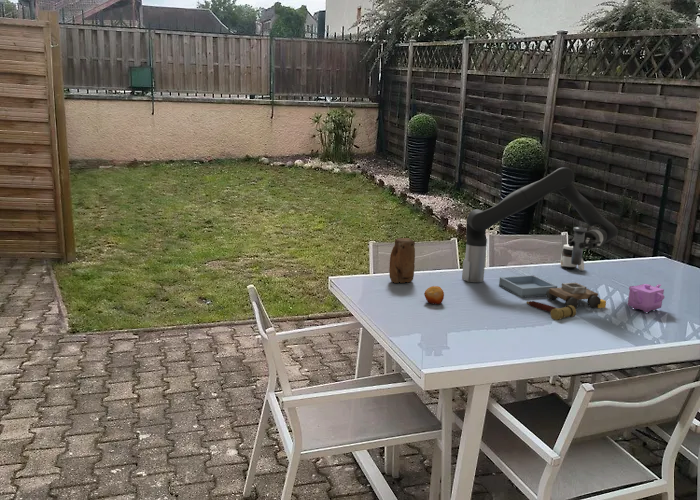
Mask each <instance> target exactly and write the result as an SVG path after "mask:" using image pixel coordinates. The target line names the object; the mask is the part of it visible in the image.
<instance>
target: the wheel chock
mask: <svg viewBox="0 0 700 500" xmlns="http://www.w3.org/2000/svg"><path fill="white" fill-rule="evenodd" d="M600 300H601V302H600V304H599V305H598V307H597V308H596V309H604V308H606V304H607V300H605V299H602V298H600Z"/></svg>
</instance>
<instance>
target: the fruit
mask: <svg viewBox="0 0 700 500" xmlns="http://www.w3.org/2000/svg"><path fill="white" fill-rule="evenodd" d="M423 295H424V297H425V300H426V302H427V303H428V304H429V303H430V304H431V305H441V304H442V303H443V301H444V298H445V292H444V290H443V288H441V287H440V286H438V285H437V286H435V285H433V286H429V287H428V288H426V289H425V291H424V294H423Z"/></svg>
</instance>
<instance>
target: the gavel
mask: <svg viewBox="0 0 700 500" xmlns="http://www.w3.org/2000/svg"><path fill="white" fill-rule="evenodd" d="M526 304H527V305H529V306H530V307H532V308H535V309H538V310H541V311H543V312H548V313H550V317H551V319H552V320H556V321H560V320H562V319H564V318H569V317H570V318H572V317H575V316H576V315H577V308H576V309H575V307H574V306H572V305H569V306H564V307H560V308H558V307H556V306H552V305H549V304H545V303H542V302H539V301H535V300H532V301H531V300H529V301H526Z"/></svg>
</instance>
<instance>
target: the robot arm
mask: <svg viewBox="0 0 700 500" xmlns="http://www.w3.org/2000/svg"><path fill="white" fill-rule="evenodd" d="M574 179H575V173H574V171H573V170H572V169H571V168H569V167H563V166H562V167H560V168H559V167H558V168H557V169H556V170H554V171H552V172H551V173H550V174H548V175H547V176H545V177H543V178H541V179H540V180H537V181H534V182H532V183H530V184H527V185H525V186H522V187H520V188H518V189H517V190H514V191H512V192H510V193H509V194H508V195H506V196H505V197H504V198H503V199H501V200H500V201H499V202H498V203H497V204H496V205H494V206H492V207H490V208H487V209H485V210H482V209H479V208H477V209H473V210H471V211H470V212H469V213H468V215H467V219H466V224H465V225H466V228H465V229H466V230H465V234H466V235H465V239H466V245H465V247H466V248H465V256H464V257H465V258H464V259H463V260H462V261H463V262H462V275H461V279H462V280H464V281H466V282H467V283H482V282H484V279H485V269H486V268H485V266H486V257H487V256H486V255H487V243H488V239H487V235H486V234H487V233H486V231H487V230H488V229H489V228H491V227H492V226H494V225H496V224H497V223H499V222H500V221H502V220H504V219H506V218H508V217H509V218H510V217H511V216H513V215H515V214H517V213H519V212H521V211H523V210H525V209H527V208H529V207H531V206H533V205H535V204H536V203H537V202H539V201H541V200H542V199H543V198H545V197H546V196H547V195H549V194H551V193H553V192H555V191H558V192H559V193H560V194H561V195H562V196H563V197H564V198H565V199H566V200H567V202H568V203H570V205H572V207H573V208H574V209H575V210H576V211H577V213H578V214H579V216H580V217H581V218H582V219H583V221H584V222H585V223H586V225H587V226H589V227H594V226H596V225H599V226H600V227H598V228H594V229H590V230H587V232H585V236H584V242H583V243H581V244H580V248H581V249H582V248H583V249H585V250H591V249H597V248H601V246H602V245H604V244H606V243H608V242H610V241H611V240H612V239H614V238H616V237H617V236H618V233H619V231H618V228H617V227H616V225H614V224H613V222H610V220H608V219H607V218H605V217H604V216H603V215H602V214H601V213H600V212H599V211H598V210H597V209H596V206H594V205H593V203H591V201H590V200H588V199H587V198H586V197H585V196H583V195H582V194H581V193H580V192H579V191H578V190H577V188H576V186H575V185H574V183H573V182H574ZM573 242H574V236H572V235H570V236H569V237H568V240H567V243H568V244H569V246H570V247H572V246H573Z"/></svg>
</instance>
